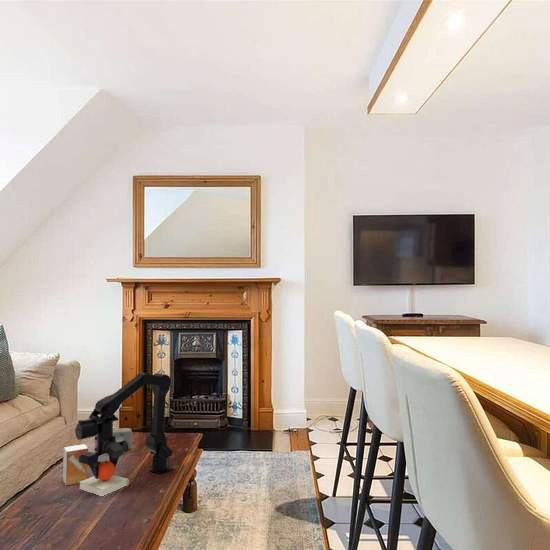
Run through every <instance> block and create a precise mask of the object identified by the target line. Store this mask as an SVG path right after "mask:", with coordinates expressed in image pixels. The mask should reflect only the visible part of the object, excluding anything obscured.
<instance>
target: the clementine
mask: <svg viewBox="0 0 550 550" xmlns="http://www.w3.org/2000/svg"><path fill="white" fill-rule="evenodd" d="M100 462H101V463H100V464H99V470H98V479H100V480H104V481H105V480H109V479H110V478H111V477H112V476H113V475H114V474H115V473H116V472H115V471H116V467H114V465H113V463H112V462H110V461H109V460H104V461H103V460H102V461H100Z"/></svg>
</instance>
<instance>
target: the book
mask: <svg viewBox="0 0 550 550" xmlns="http://www.w3.org/2000/svg"><path fill="white" fill-rule="evenodd" d="M129 480H130V479H129V477H125V476H121V475H119V474H115V473H114V475H113V476H112V477H111V478H110V479H109V480H105V481H104V480H100V479H95V477H94V475H93V476H91V477H89V478H88V479H86V480H83V481H80V483H79V490H80V489H81V490H80V491H83V490H84V491H83V492H86V491H87V492H86V493H89V492H90V493H89V494H92V493H94V494H96V495H95V496H97V495H99V496H98V497H100V496H104V495H106V494H108V493H111V492H113V491H116V490H118V489H120V488H122V487H124V486H127V485H129V484H130V483H129V482H130V481H129ZM127 487H128V486H127ZM122 489H123V488H122ZM120 490H121V489H120ZM118 491H119V490H118ZM116 492H117V491H116ZM113 493H114V492H113ZM94 494H93V495H94ZM111 494H112V493H111ZM106 496H107V495H106ZM104 497H105V496H104Z"/></svg>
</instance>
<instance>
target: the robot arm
mask: <svg viewBox="0 0 550 550" xmlns="http://www.w3.org/2000/svg"><path fill="white" fill-rule="evenodd" d="M147 384H148V385H150V388H151V391H152V394H153V405H152V423H151V424H152V425H151V431H150V433H149V434H146V435H145V438H146V441H145V445H146V448H147V450H148V451H149V453H150V454H151V455H153V456H152V461H151V462H152V463H151V464H152V465H151V467H152V468H150V469H149V471H150V472H152V473H156V474H163V473H167V472H169V471H170V470H172V469H173V467H171V466H170V457H172V455H173V449H171V448H170V447H169V446H168V440H167V439H168V438H167V436H166V433H165V420H166V419H165V416H166V414H165V413H166V402H167V401H166V398H167V395H168V393H169V391H170V390H171V389H170V387H171V384H172V378H171V377H170V376H169V375H168V374H165V373H160V372H155V373H154V374H150V373H144V372H139V373H137V375H136V376H135V377H133V378H132V379H131V380H129V381H128V382H127V383H125V385H123V386H122V387H121V388H119V389H118V390H116V392H114V393H112V394H110V395H107V396H105V397H103V398H101V399H100V400H98V401H96V402H95V406H94V409H93V411H92V412H91V413H90V414H89V416H88V419H79V420H77V424H76V426H75V430H74V433H75V438H76V439H77V440H78V441H81V440H84V439H85V440H86V439H89V438H94V441H95V440H97V447H96V448H95V447H94V451H95V452H91V451H88V452H87V453H84V454H81V455H80V456H79V462H80V463H83V464H87V465H88V468H90V470H91V473H92V474H93V476H94V477H95V479H98V470H99V464H100V463H101V462H102V461H99V458H101V457H104V456H108V461H110V462H112V463H113V465H114V467H115V468H116V467H117V464H118V461H119V459H120V458H121V457H122V456H124V454H125V453H126V452H129V451H130V449H129V446H128V444H127V442H126V441H125V440H124V441H121V442H120V441H119V442H116V438H115V436H113V429H114V422H116V421H119V418H118V417H117V416H116V415H115V413H116V412H117V411H118V410H119V409H120V407H121V405H122V403H124V402H125V401H126V400H127V399H129V398H130V397H131V396H132V395H133V394H135V393H136V392H137V391H138V390H140V389H141V388H142V387H143V386H144V385H147ZM95 435H97V437H95ZM96 451H97V452H96ZM107 454H108V455H107Z"/></svg>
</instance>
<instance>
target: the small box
mask: <svg viewBox="0 0 550 550" xmlns="http://www.w3.org/2000/svg"><path fill="white" fill-rule="evenodd" d="M87 452H89V447H88V446H87V445H86V443H83V444H77V445H71V446H65V447H63V457H62V458H63V464H62V465H63V466H62V481H63V483H64V485H65V486H66V485H67V486H70V485H75V484H80V481H83V480H86V479H88V474H89V465H87V464H83V463H80V462H79V456H80V455H81V454H84V453H87Z"/></svg>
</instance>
